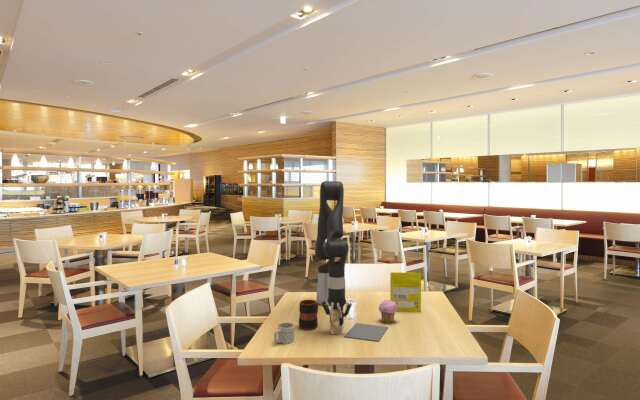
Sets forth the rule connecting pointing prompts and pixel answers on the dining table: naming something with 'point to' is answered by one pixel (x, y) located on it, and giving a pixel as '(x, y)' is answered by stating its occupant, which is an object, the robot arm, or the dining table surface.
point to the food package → (406, 291)
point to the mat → (366, 332)
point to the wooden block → (335, 322)
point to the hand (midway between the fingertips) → (336, 324)
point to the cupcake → (388, 310)
